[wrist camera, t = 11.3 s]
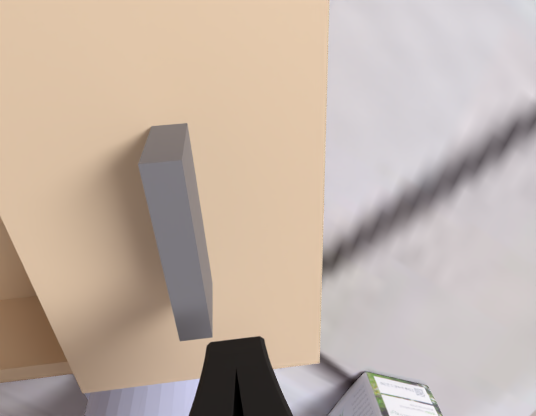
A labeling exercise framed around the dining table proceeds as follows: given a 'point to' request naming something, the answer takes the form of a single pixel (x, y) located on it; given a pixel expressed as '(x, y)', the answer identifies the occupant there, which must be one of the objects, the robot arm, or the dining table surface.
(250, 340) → the robot arm
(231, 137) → the lid panel
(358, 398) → the white printed box
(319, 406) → the dining table surface
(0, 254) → the carton
